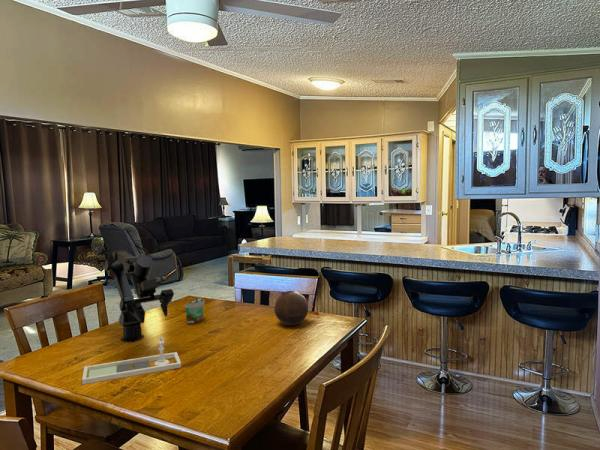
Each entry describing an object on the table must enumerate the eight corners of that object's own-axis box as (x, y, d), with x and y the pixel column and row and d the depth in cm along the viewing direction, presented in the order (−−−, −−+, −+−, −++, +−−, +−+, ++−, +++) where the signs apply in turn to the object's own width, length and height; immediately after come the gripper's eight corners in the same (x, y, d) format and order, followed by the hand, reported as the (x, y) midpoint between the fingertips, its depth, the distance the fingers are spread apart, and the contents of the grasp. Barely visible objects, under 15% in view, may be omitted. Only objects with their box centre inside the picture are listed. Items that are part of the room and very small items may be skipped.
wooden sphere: (313, 327, 185) (313, 293, 184) (281, 331, 180) (280, 296, 178) (300, 317, 199) (300, 286, 198) (270, 321, 193) (269, 289, 192)
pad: (116, 367, 145) (116, 365, 145) (117, 377, 138) (116, 375, 138) (89, 371, 142) (89, 370, 142) (88, 381, 134) (88, 380, 134)
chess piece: (161, 368, 144) (159, 339, 143) (151, 365, 146) (150, 337, 146) (172, 363, 148) (171, 335, 147) (162, 360, 151) (161, 333, 150)
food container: (198, 326, 188) (197, 304, 187) (185, 325, 190) (184, 303, 189) (209, 318, 200) (209, 297, 199) (197, 317, 202) (196, 296, 201)
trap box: (176, 356, 154) (176, 352, 154) (181, 367, 144) (181, 363, 144) (84, 370, 143) (84, 366, 142) (82, 384, 133) (82, 379, 132)
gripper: (119, 274, 150) (131, 310, 142) (170, 267, 162) (184, 300, 154) (114, 293, 157) (125, 328, 149) (163, 285, 168) (176, 318, 160)
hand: (154, 318), depth 153 cm, fingers open, 9 cm apart
